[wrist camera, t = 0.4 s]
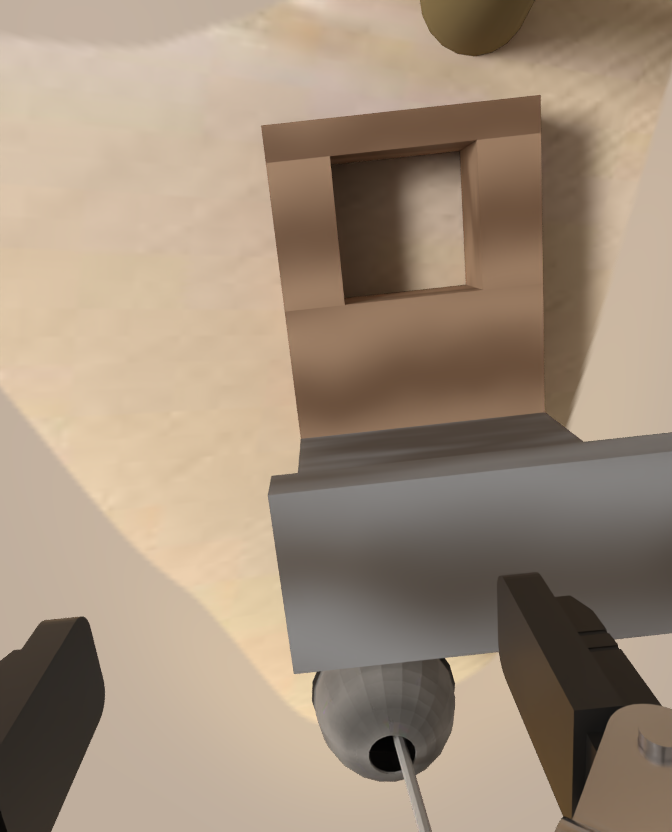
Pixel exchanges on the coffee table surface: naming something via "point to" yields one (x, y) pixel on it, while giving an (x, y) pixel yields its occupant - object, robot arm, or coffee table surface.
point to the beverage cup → (388, 720)
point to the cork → (474, 23)
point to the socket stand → (443, 418)
